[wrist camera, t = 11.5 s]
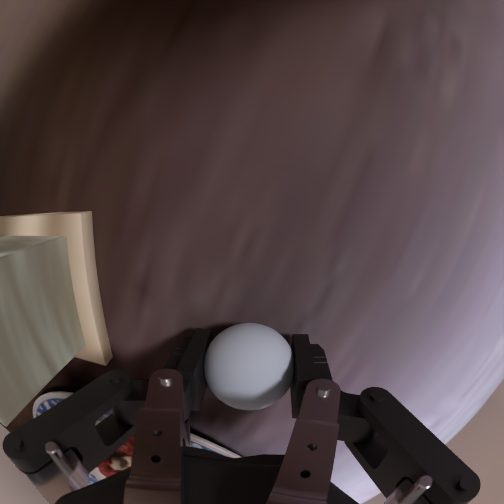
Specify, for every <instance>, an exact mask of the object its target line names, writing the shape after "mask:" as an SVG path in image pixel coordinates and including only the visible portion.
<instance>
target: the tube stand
mask: <svg viewBox="0 0 504 504" xmlns="http://www.w3.org/2000/svg"><path fill="white" fill-rule="evenodd" d="M74 357H77V358H80V359H84V360H87V361H90V362H94V363H98V364H101V365H105V366H106V365H107V364H108V362H109V361H110V360H111V359H112V358H113V356H112V352H111V347H110V343H109V339H108V334H107V330H106V325H105V320H104V315H103V309H102V304H101V298H100V291H99V285H98V277H97V269H96V261H95V251H94V239H93V223H92V211H83V212H60V213H41V214H26V215H12V216H0V422H1V423H2V424H3V425H4V426H6V427H7V426H8V425H9V423H10V422H11V421H12V420H13V419H14V418H15V417H16V416H17V415H18V414H19V413H20V411H21V410H22V409H23V408H24V407H25V406H26V405H27V404H28V403H29V402H30V401H31V400H32V399H33V398H34V397H35V396H36V395H37V394H38V393H39V392H40V391H41V390H42V388H43V387H44V386H45V385H46V384H47V383H48V382H49V381H50V380H51V379H52V378H53V377H54V376H55V375H56V374H57V373H58V372H59V371H60V370H61V369H62V368H63V367H64V366H65V365H66V364H67V363H68V362H70V361H71V360H72V359H73V358H74Z"/></svg>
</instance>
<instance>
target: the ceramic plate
mask: <svg viewBox="0 0 504 504" xmlns="http://www.w3.org/2000/svg"><path fill="white" fill-rule="evenodd" d="M72 394H73V393H72V392H63V391H59V392H48V393H46V394H44V395H41V396H40V397H39V398H38V399H37V400H36V401H35V403H34V406H33V418H35V417H37V416H39V415H40V414H42V413H43V412H45V411H47V410H48V409H50V408H51V407H53V406H55V405H56V404H58V403H59V402H61V401H62V400H64V399H66V398H67V397H69V396H70V395H72ZM111 413H112V411H111V410H110V411H108V412H107V413H106V414H104V415H103V416H102V417H100V418H99V419H98V420H97V421H96V424H95V426H96V425H97V424H98V423H100V422H101V421H102V420H104V419H105V418H106V417H108V416H109V415H110V414H111ZM190 437H191V447H195V448H202V449H207V450H209V451H212V452H215V453H218V454H221V455H225V456H228V457H231V458H240V457H241V456H239V455H237V454H235V453H233V452H231V451H229V450H227V449H225V448H223V447H221V446H219V445H216V444H214V443H212V442H210V441H208V440H205V439H203V438H201V437H198V436H196V435H194V434H191V433H190ZM134 439H135V435H134V436H132V437H131V438H130V439H129V440H128V441H127V442H126V443H124V444H123V445H122V446H121V447H120V448H119V449H118V450H116V451H115V452H114V453H113V454H112V455H111V456H109V457H108V458H107V459H106V460H105V461H103V462H102V463H101V464H100V465H99V466H97V467H96V468H95V469H94V470H93V471H91V472H90V473H89V480H88V482H87V485H90V484H93V483H95V482H98V481H100V480H102V479H104V478H107V477H109V476H111V475H113V474H115V473H118V472H120V471H122V470H124V469H126V468H128V467H130V466H131V461H132V453H133V446H134Z"/></svg>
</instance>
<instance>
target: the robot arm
mask: <svg viewBox="0 0 504 504" xmlns="http://www.w3.org/2000/svg"><path fill="white" fill-rule="evenodd" d="M212 341H213V331H212V330H211V329H200V328H197V329H196V331H195V333H194V335H193V337H185V338H184V339H182V340H181V341H179V343H178V345H177V347H176V349H175V350H174V352H173V354H172V355H171V357H170V359H169V361H168V363H167V364H166V366H165V368H164V369H160V370H157V371H155V372H154V373H153V374H152V375H151V376H150V379H147V380H132V378H131V375H130V374H129V373H128V372H126V371H124V370H111V371H108V372H106V373H104V374H103V375H101V376H100V377H98V378H97V379H95V380H94V381H92V382H91V383H89V384H87V385H86V386H84V387H83V388H81V389H80V390H78V391H77V392H75V393H73V394H72V395H70V396H69V397H67V398H66V399H64V400H62V401H61V402H59V403H58V404H56V405H55V406H53V407H51V408H50V409H48V410H47V411H45V412H43V413H42V414H40V415H39V416H37V417H35V418H34V419H32V420H31V421H29V422H27V423H26V424H24V425H22V426H21V427H19V428H18V429H16V430H14V431H13V432H11V433H9V434H8V435H7V436H6V437H5V439H4V441H3V450H4V452H5V454H7V456H8V457H9V458H10V459H11V461H12V462H13V463H14V464H15V466H16V467H17V468H18V470H19V471H20V472H21V473H22V474H23V475H24V476H25V477H26V478H27V479H28V480H29V481H30V482H31V483H32V484H33V485H34V486H35V487H36V488H37V489H38V490H39V492H40V493H41V494H42V495H43V497H44V498H45V499H46V500H47V501H48V502H49V503H50V504H359V503H357V502H356V501H355V500H353V499H352V498H351V497H349V496H348V495H347V494H346V493H344V492H343V491H342V490H340V489H339V488H338V487H337V486H335V485H334V484H333V483H332V482H331V481H330V480H331V475H332V469H333V463H334V457H335V451H336V444H337V440H341V441H344V442H345V444H346V446H347V447H348V448H349V450H350V451H351V452H352V454H353V455H354V456H355V458H356V459H357V461H358V462H359V463H360V465H361V466H362V467H363V469H364V470H365V471H366V473H367V474H368V475H369V476H370V478H371V479H372V480H373V482H374V483H375V484H376V486H377V487H378V488H379V489H380V491H381V492H382V493H383V494H384V496H385V497H386V498H387V499H386V500H385V502H384V504H467V503H468V502H470V501H471V500H472V499H473V498H474V497H475V496H476V495H477V494H478V492H479V490H480V479H479V477H478V476H477V474H476V473H474V472H473V471H472V470H471V469H470V468H469V467H468V466H467V465H466V464H465V463H464V462H463V461H462V460H461V459H459V458H458V457H457V456H456V455H455V454H454V453H453V452H452V451H451V450H450V449H449V448H448V447H447V446H446V445H445V444H443V443H442V442H441V441H440V440H439V439H438V438H437V437H436V436H435V435H434V434H433V433H432V432H431V431H430V430H429V429H427V428H426V427H425V426H424V425H423V424H422V423H421V422H420V421H419V420H418V419H417V418H416V417H415V416H414V415H413V414H412V413H411V412H409V411H408V410H407V409H406V408H405V407H404V406H403V405H402V404H401V403H400V402H399V401H398V400H397V399H396V398H395V397H394V396H393V395H392V394H391V393H389V392H388V391H387V390H385V389H383V388H379V387H370V388H367V389H365V390H363V391H362V392H361V394H360V395H355V394H349V393H345V392H343V391H341V389H340V387H339V385H338V384H337V383H335V382H334V381H333V380H332V377H331V373H330V370H329V366H328V363H327V359H326V356H325V352H324V350H323V349H322V348H321V347H320V346H319V345H318V344H310V342H309V337H308V334H293V335H292V343H291V350H292V352H293V356H294V376H293V381H292V383H291V385H290V390H291V405H292V418H297V419H296V422H295V425H294V429H293V432H292V435H291V438H290V441H289V444H288V447H287V450H286V453H285V455H268V454H263V455H256V456H249V457H240V458H231V457H228V456H225V455H221V454H218V453H215V452H212V451H209V450H207V449H202V448H195V447H191V437H190V419H189V416H190V413H191V411H199V409H200V406H201V403H202V400H203V396H204V393H205V390H206V387H207V382H206V379H205V374H204V360H205V355H206V352H207V349H208V347H209V345H210V344H211V342H212ZM110 410H111V411H112V413H111V414H110V415H109V416H108V417H106V418H105V419H104V420H102V421H101V422H100V423H98V424H97V425H96V426H95V424H96V421H97V420H98V419H99V418H100V417H102V416H103V415H104V414H106V413H107V412H108V411H110ZM134 435H135V439H134V446H133V453H132V461H131V466H130V467H128V468H126V469H124V470H122V471H120V472H118V473H115V474H113V475H111V476H109V477H107V478H104V479H102V480H100V481H98V482H95V483H93V484H90V485H87V482H88V480H89V473H90V472H91V471H93V470H94V469H95V468H96V467H97V466H99V465H100V464H101V463H102V462H103V461H105V460H106V459H107V458H108V457H109V456H111V455H112V454H113V453H114V452H115V451H116V450H118V449H119V448H120V447H121V446H122V445H123V444H124V443H126V442H127V441H128V440H129V439H130V438H131V437H132V436H134Z"/></svg>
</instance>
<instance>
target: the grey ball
mask: <svg viewBox="0 0 504 504" xmlns="http://www.w3.org/2000/svg"><path fill="white" fill-rule="evenodd" d="M204 374H205V379H206V382H207V384H208V386H209V388H210V389H211V391H212V392H213V393H214V395H215V396H216V397H217V398H218V399H219V400H221V401H222V402H224V403H225V404H227V405H229V406H231V407H233V408H236V409H241V410H258V409H262V408H265V407H268V406H270V405H272V404H274V403H275V402H277V401H278V400H279V399H281V398H282V397H283V396H284V394H285V393H286V392H287V391H288V389H289V387H290V385H291V383H292V381H293V376H294V356H293V352H292V350H291V348H290V346H289V344H288V343H287V341H286V340H285V339H284V338H283V337H282V336H281V335H280V334H279V333H278V332H277V331H275V330H273V329H272V328H269V327H267V326H265V325H262V324H257V323H242V324H237V325H234V326H231V327H229V328H227V329H225V330H224V331H222V332H221V333H219V334H218V335H217V336H216V337H215V338H214V340H213V341H212V342H211V344H210V345H209V347H208V349H207V352H206V355H205V360H204Z"/></svg>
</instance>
